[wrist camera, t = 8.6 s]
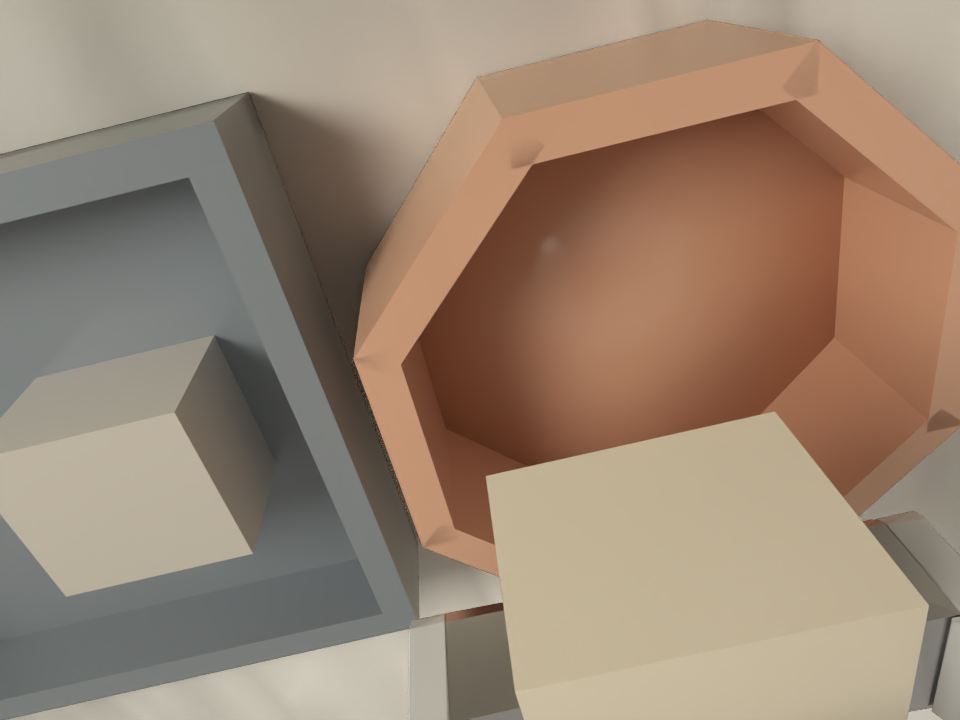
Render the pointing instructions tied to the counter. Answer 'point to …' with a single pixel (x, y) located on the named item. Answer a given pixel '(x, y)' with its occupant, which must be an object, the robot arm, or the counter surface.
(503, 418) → the terracotta bowl
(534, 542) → the tan block
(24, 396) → the cream matte cube
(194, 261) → the slate tray
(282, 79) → the counter surface
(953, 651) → the robot arm
